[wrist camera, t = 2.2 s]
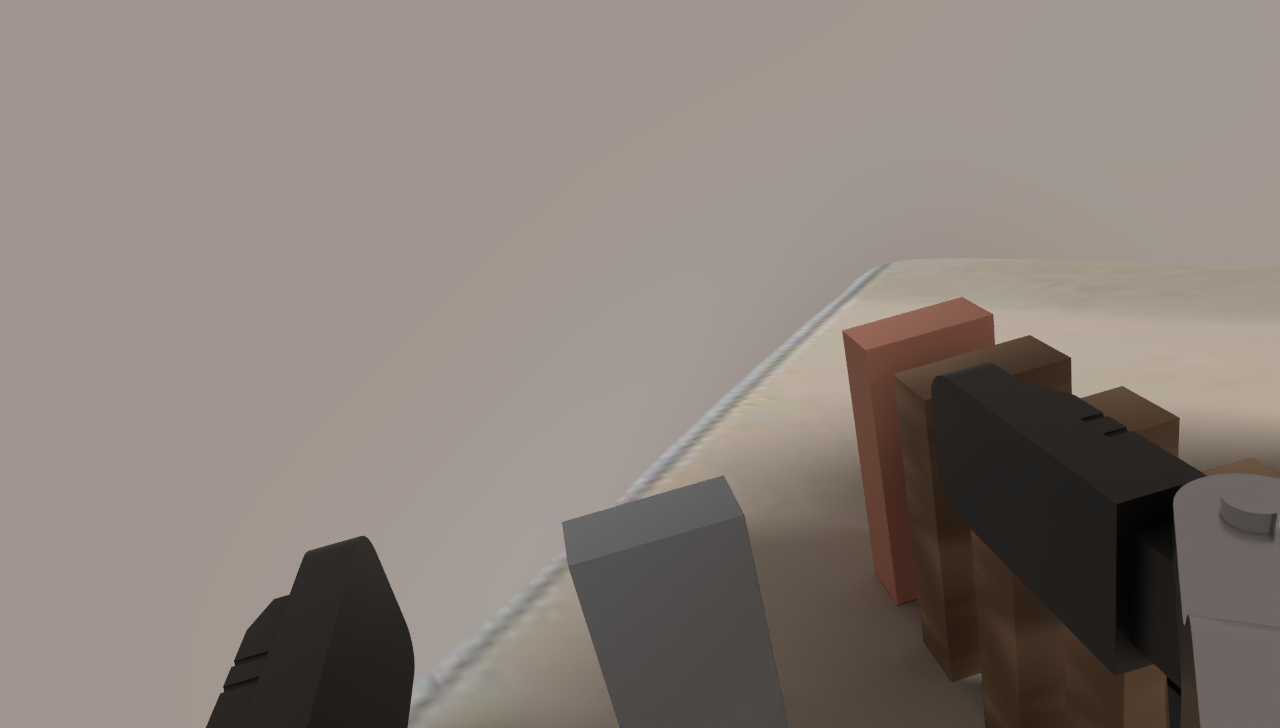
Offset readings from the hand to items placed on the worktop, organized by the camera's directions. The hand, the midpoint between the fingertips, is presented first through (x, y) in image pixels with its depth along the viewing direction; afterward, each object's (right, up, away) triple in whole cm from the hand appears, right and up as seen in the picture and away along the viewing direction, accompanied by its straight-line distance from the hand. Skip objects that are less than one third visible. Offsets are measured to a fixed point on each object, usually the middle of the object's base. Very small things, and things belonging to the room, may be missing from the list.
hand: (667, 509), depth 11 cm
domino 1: (+13, -7, +25) cm, 29 cm away
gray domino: (+3, -13, +17) cm, 21 cm away
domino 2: (+14, -9, +20) cm, 26 cm away
